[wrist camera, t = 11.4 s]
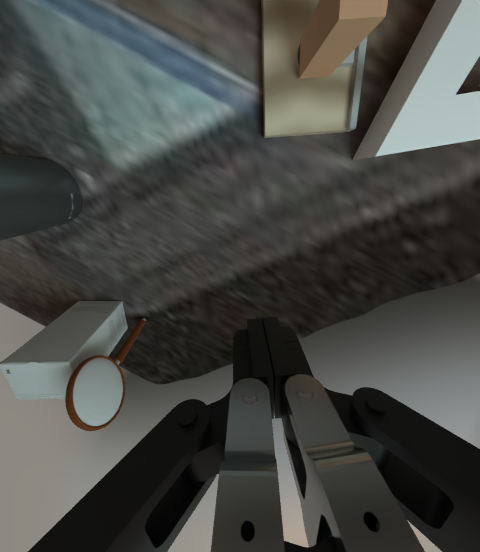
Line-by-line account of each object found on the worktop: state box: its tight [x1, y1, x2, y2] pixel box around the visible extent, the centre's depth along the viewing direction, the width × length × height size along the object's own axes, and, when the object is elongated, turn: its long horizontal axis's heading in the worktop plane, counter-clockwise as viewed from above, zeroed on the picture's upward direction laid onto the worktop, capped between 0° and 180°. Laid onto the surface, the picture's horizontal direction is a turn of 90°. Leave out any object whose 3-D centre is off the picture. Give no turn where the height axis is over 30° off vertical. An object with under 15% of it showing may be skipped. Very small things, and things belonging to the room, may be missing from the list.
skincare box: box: [0, 301, 128, 399], centre depth 35 cm, size 8×7×16 cm
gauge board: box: [261, 0, 368, 138], centre depth 25 cm, size 22×12×2 cm, turn 4°
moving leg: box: [299, 0, 388, 79], centre depth 21 cm, size 4×6×11 cm, turn 94°
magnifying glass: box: [65, 318, 146, 431], centre depth 33 cm, size 9×2×20 cm, turn 19°
